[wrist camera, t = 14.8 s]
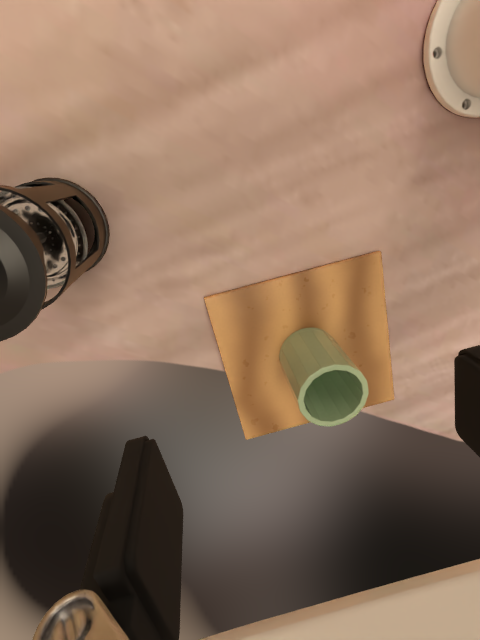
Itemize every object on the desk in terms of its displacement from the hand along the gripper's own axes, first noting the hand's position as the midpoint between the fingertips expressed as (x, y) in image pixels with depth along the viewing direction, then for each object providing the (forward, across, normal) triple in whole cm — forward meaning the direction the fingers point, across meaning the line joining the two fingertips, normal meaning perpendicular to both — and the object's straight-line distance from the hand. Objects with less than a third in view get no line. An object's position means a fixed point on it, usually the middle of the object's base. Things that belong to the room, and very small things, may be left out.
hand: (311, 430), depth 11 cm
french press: (+31, +16, -6) cm, 35 cm away
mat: (+30, -6, +15) cm, 34 cm away
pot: (+30, -6, +15) cm, 34 cm away
